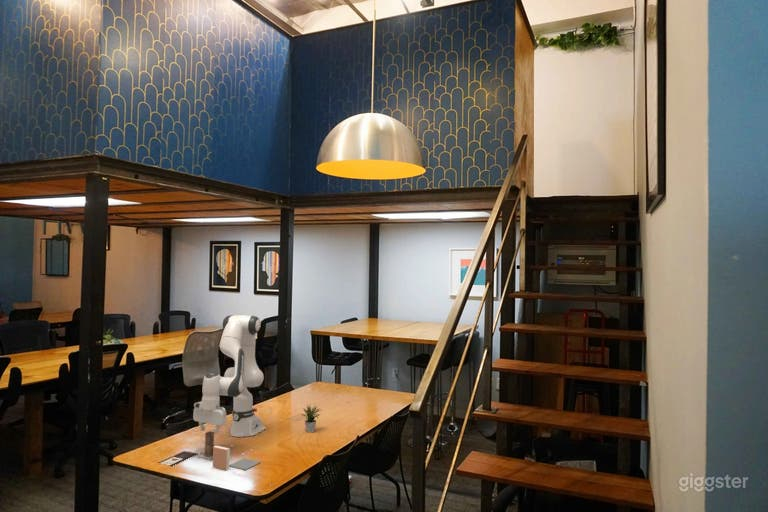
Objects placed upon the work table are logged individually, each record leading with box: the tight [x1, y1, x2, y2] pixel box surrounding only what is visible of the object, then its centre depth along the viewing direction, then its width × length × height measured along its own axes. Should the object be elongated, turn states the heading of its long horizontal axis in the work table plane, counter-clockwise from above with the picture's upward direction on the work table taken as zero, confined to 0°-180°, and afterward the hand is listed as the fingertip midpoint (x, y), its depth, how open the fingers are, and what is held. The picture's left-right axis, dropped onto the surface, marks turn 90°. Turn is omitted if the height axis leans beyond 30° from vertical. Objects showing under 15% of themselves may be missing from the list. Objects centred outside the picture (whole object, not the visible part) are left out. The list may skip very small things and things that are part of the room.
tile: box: [212, 445, 231, 472], centre depth 239 cm, size 2×9×10 cm, turn 64°
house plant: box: [300, 403, 323, 433], centre depth 298 cm, size 14×14×16 cm
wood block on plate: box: [198, 430, 215, 461], centre depth 253 cm, size 6×8×13 cm
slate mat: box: [229, 458, 261, 471], centre depth 244 cm, size 11×11×1 cm
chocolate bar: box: [158, 450, 199, 467], centre depth 250 cm, size 9×1×18 cm
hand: (209, 431), depth 253 cm, fingers open, 8 cm apart
